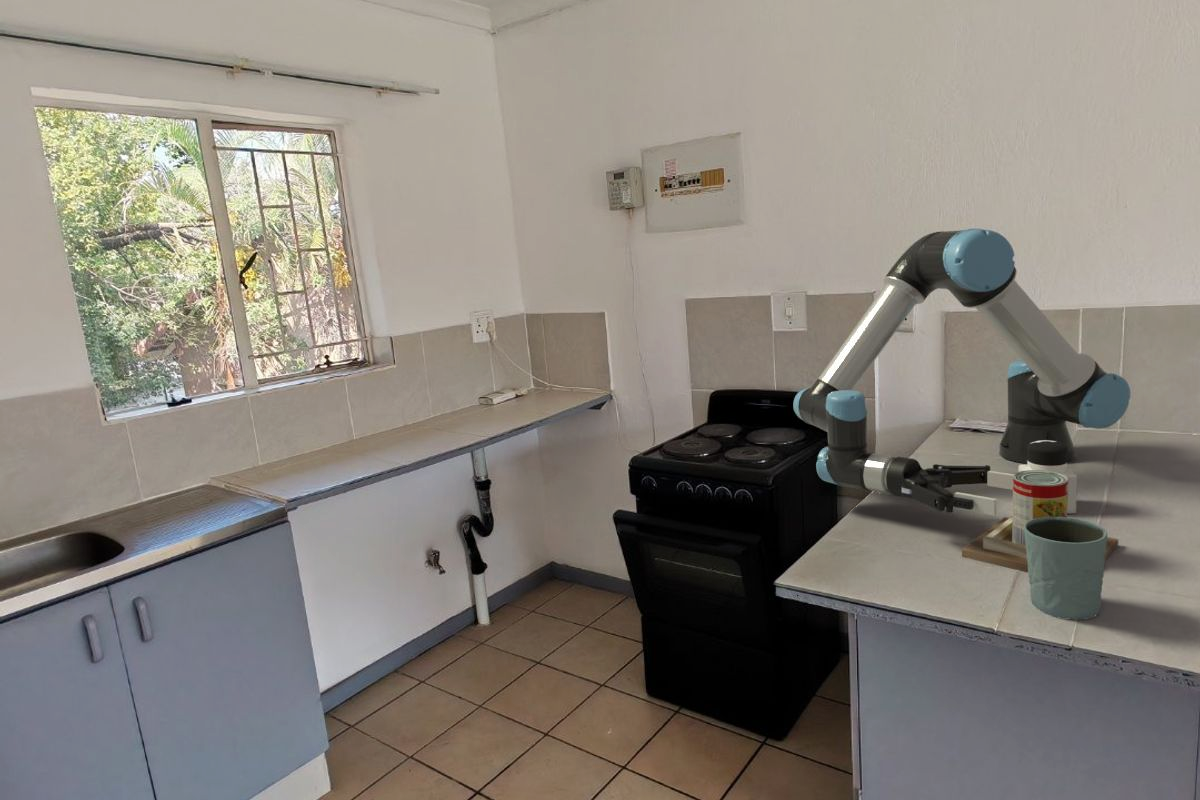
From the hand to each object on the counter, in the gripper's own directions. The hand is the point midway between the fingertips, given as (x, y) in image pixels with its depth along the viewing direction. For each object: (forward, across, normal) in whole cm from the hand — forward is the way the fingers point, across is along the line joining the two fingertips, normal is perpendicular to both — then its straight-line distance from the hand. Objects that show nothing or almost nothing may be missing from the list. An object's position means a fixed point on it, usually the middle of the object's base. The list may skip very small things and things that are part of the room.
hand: (1011, 495), depth 126 cm
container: (-1, -21, -10) cm, 23 cm away
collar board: (+4, 0, -9) cm, 10 cm away
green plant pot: (+13, +17, -10) cm, 23 cm away
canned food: (+4, 0, -8) cm, 9 cm away
